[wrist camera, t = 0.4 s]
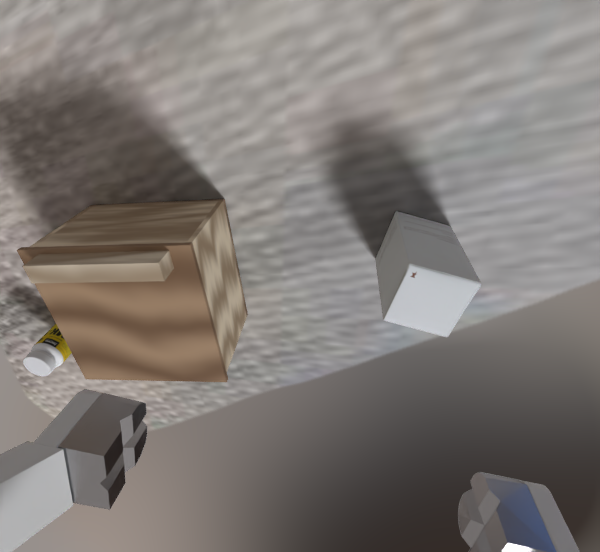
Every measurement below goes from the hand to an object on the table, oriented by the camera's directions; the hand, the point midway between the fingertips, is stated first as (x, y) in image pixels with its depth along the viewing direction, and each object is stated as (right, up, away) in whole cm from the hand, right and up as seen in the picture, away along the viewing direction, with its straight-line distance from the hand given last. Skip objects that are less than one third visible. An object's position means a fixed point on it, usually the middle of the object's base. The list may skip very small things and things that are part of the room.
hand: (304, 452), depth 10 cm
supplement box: (+14, +9, +39) cm, 42 cm away
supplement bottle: (-37, -4, +54) cm, 66 cm away
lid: (-19, 0, +34) cm, 39 cm away
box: (-18, +6, +44) cm, 48 cm away
